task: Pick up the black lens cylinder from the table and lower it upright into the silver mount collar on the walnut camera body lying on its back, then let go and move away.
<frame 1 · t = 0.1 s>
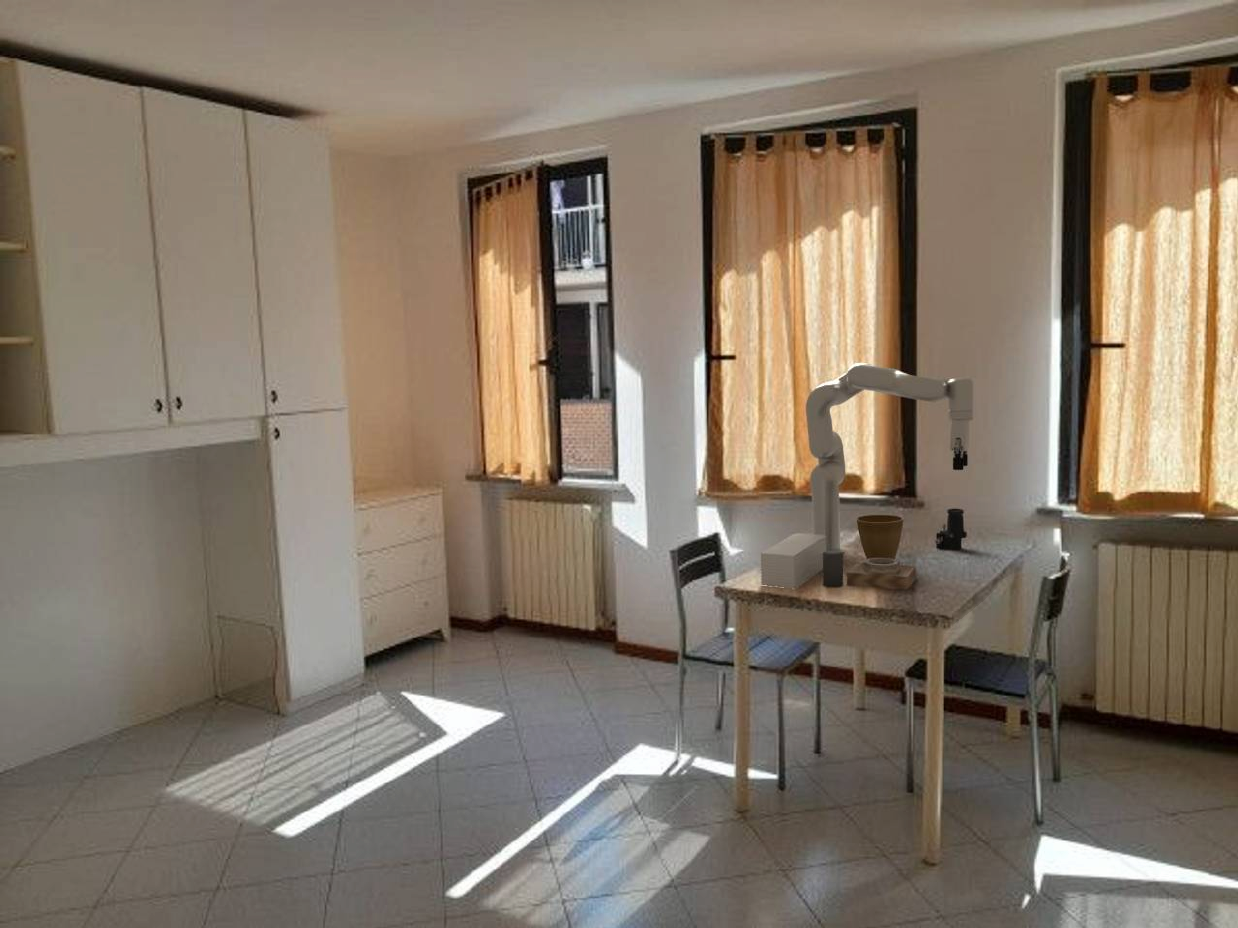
hand: (960, 467, 318), 31 cm above the table, tool pointing down, fingers open, 9 cm apart
scope: (952, 548, 340), on the table
camera body: (881, 581, 299), on the table
stack of papers: (795, 577, 311), on the table
plant pot: (880, 566, 320), on the table
lens: (833, 584, 298), on the table
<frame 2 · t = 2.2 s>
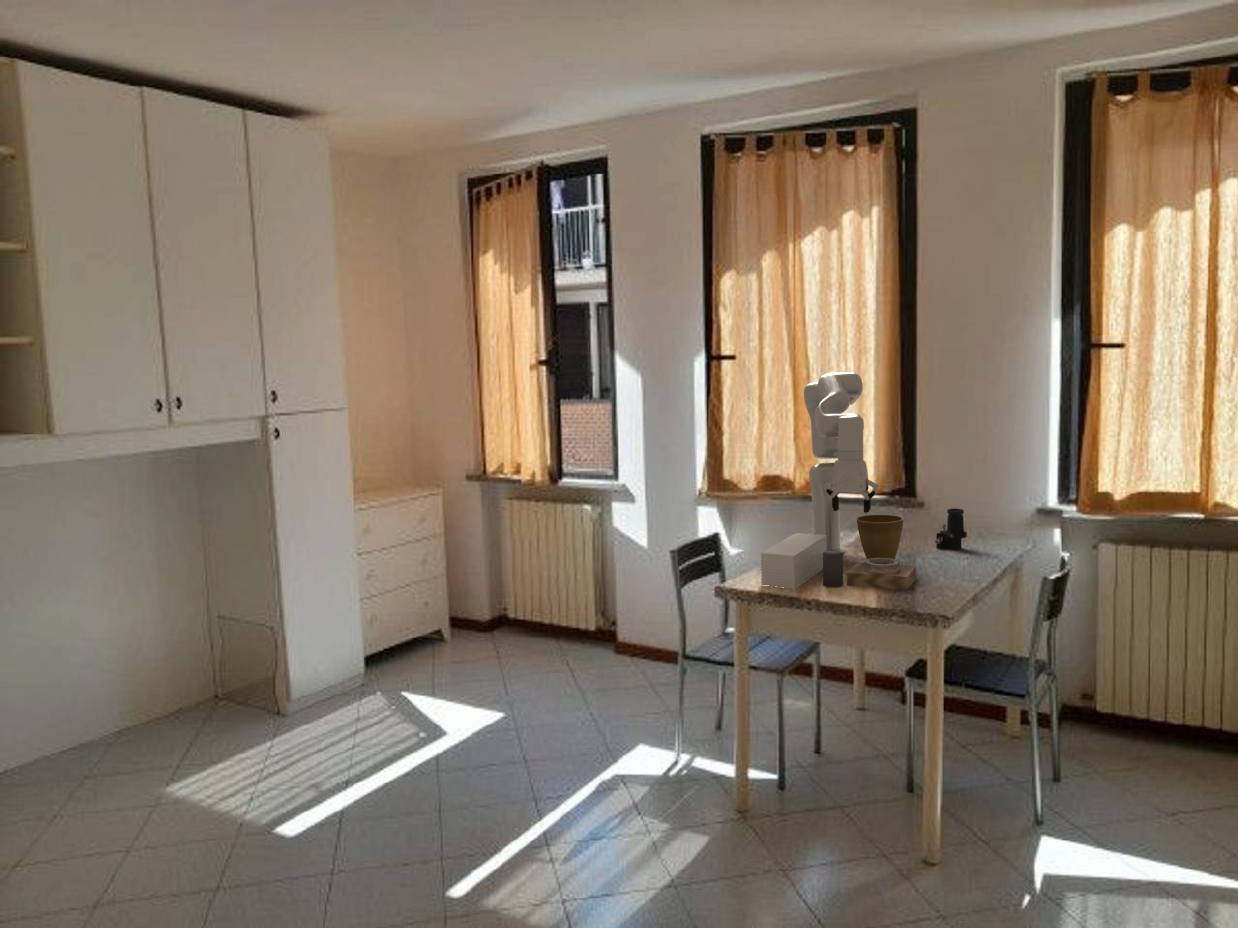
hand: (851, 511, 298), 22 cm above the table, tool pointing down, fingers open, 9 cm apart
nothing on the table moved.
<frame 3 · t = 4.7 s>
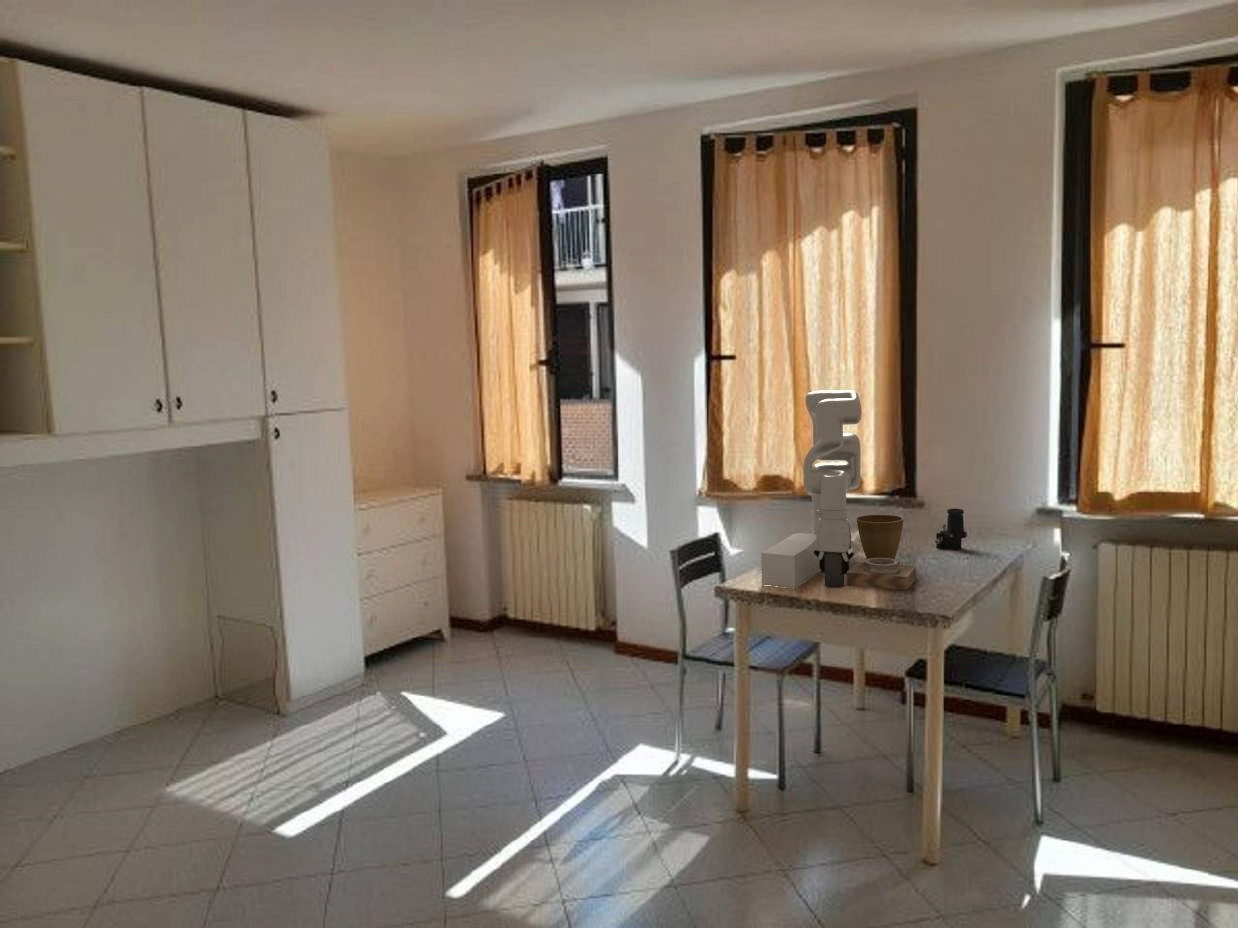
hand: (834, 571, 297), 4 cm above the table, tool pointing down, fingers closed on lens, 6 cm apart
lens: (834, 585, 297), on the table, touching gripper
everything else where it was.
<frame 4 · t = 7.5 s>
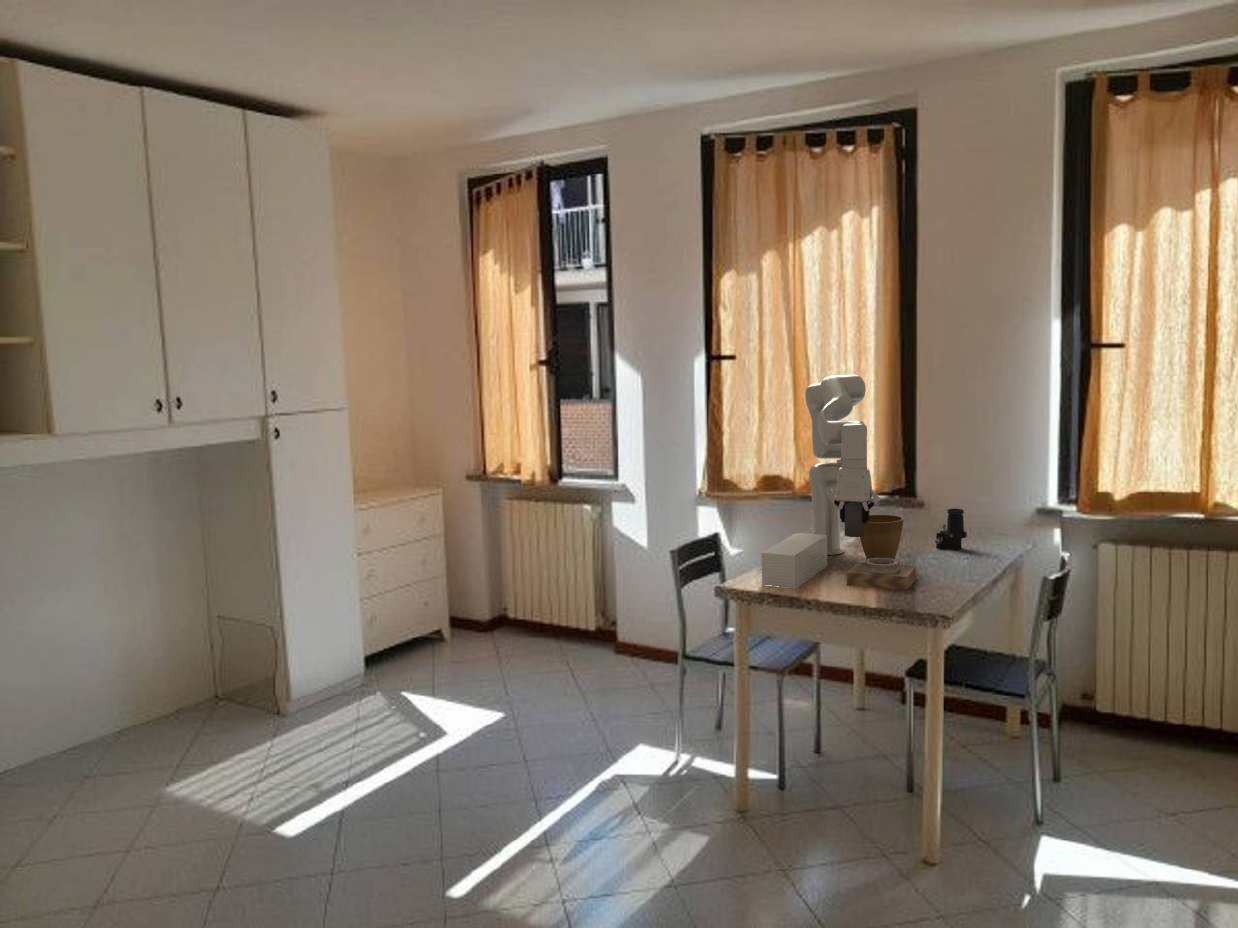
hand: (854, 521, 296), 19 cm above the table, tool pointing down, fingers closed on lens, 6 cm apart
lens: (854, 534, 297), point 15 cm above the table, touching gripper
everything else where it was.
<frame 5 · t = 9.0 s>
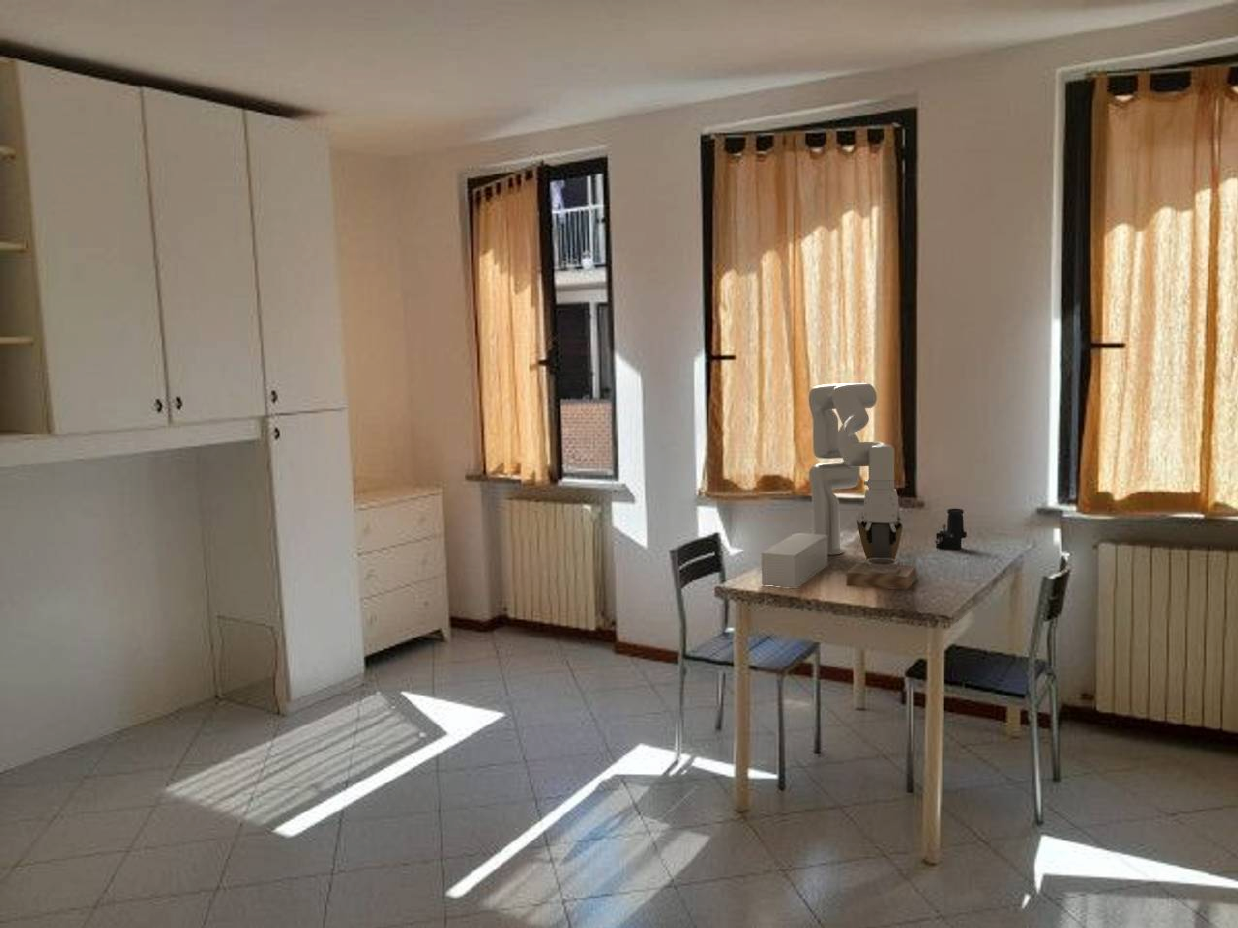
hand: (881, 542, 297), 12 cm above the table, tool pointing down, fingers closed on lens, 6 cm apart
lens: (881, 555, 298), point 8 cm above the table, touching gripper
everything else where it was.
when the fingers open (9 cm above the table, at t = 10.1 s): lens stays where it is, resting on camera body.
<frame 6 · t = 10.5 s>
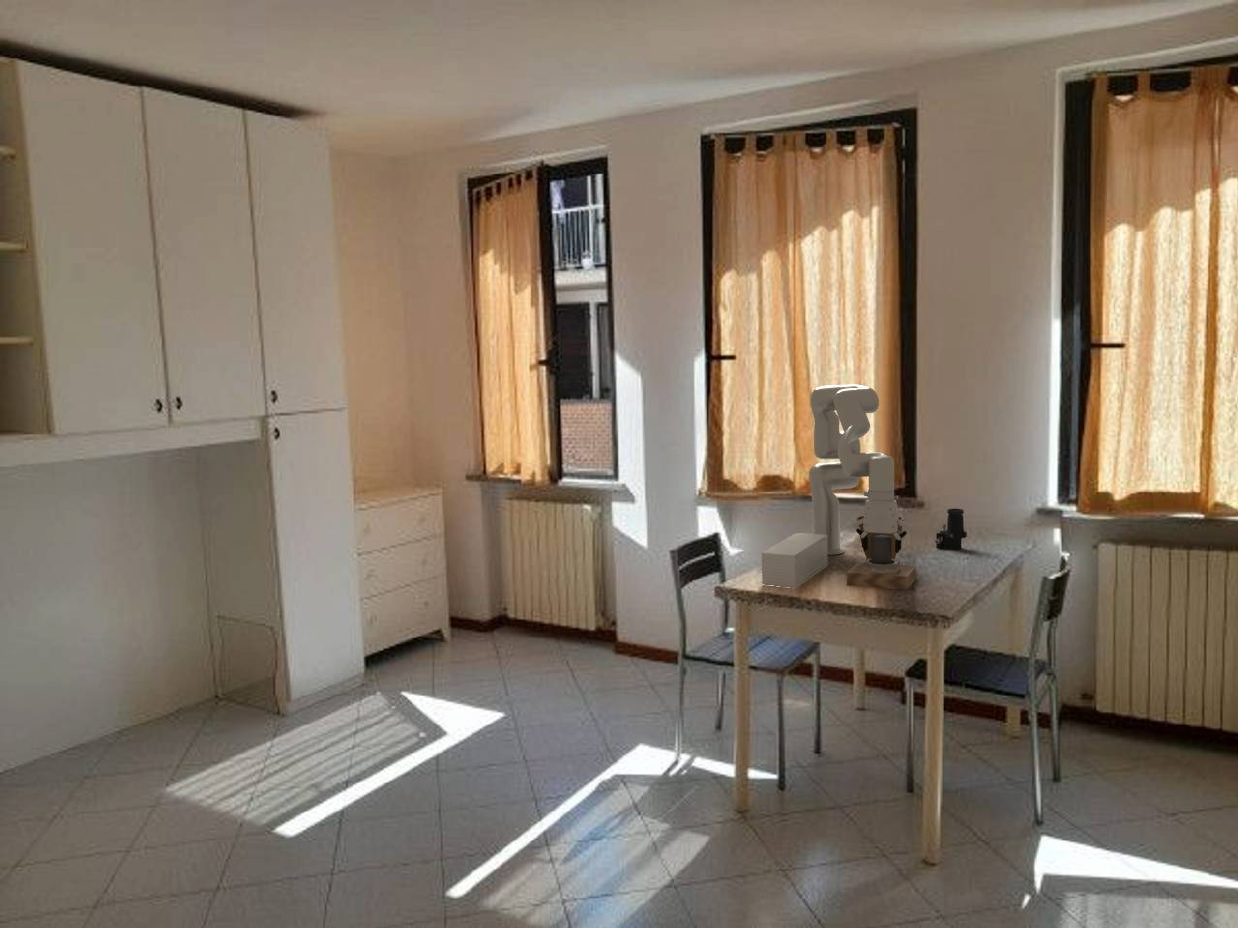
hand: (881, 550, 298), 10 cm above the table, tool pointing down, fingers open, 9 cm apart
lens: (881, 569, 299), point 4 cm above the table, touching camera body
everything else where it was.
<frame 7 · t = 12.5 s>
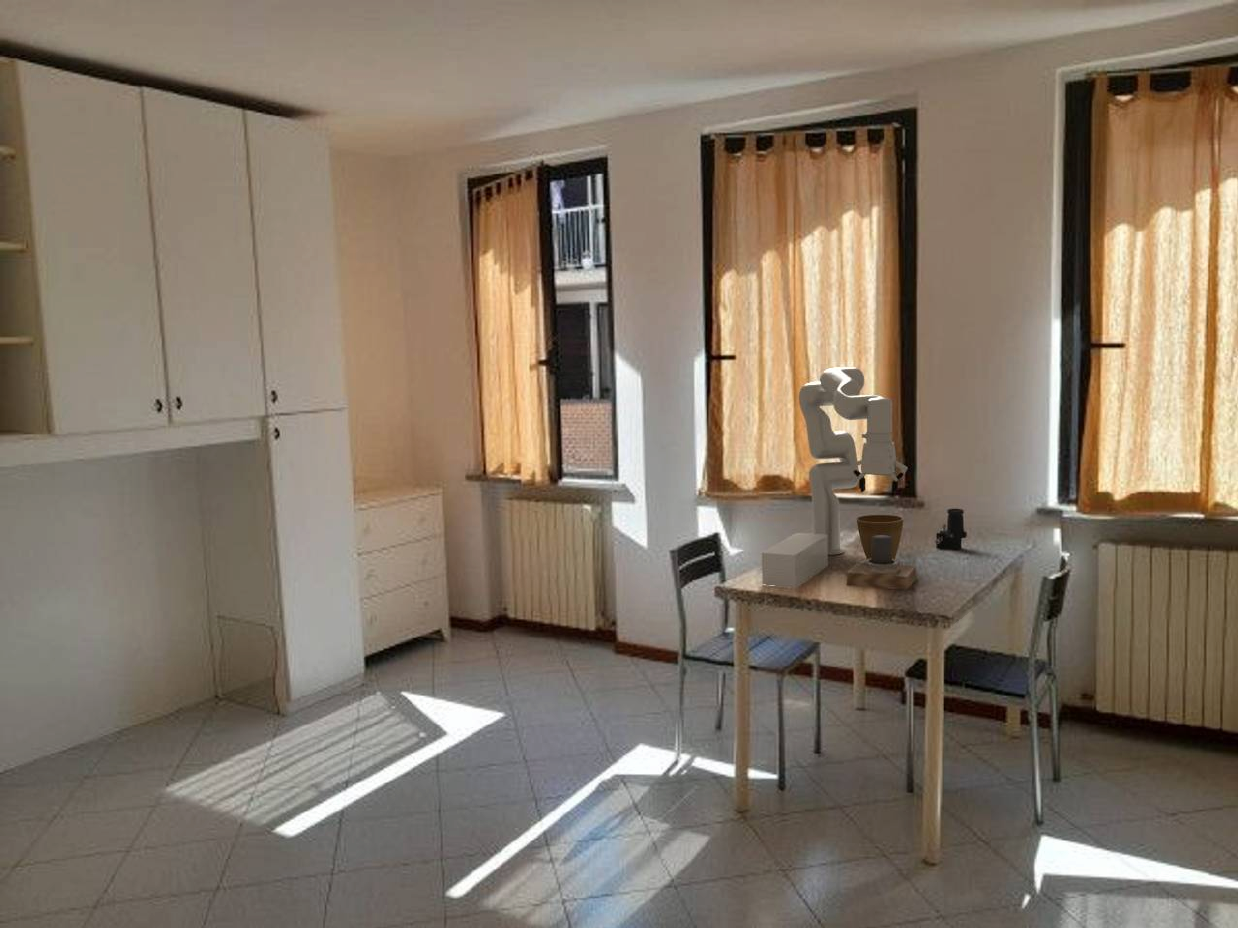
hand: (878, 492, 302), 27 cm above the table, tool pointing down, fingers open, 9 cm apart
nothing on the table moved.
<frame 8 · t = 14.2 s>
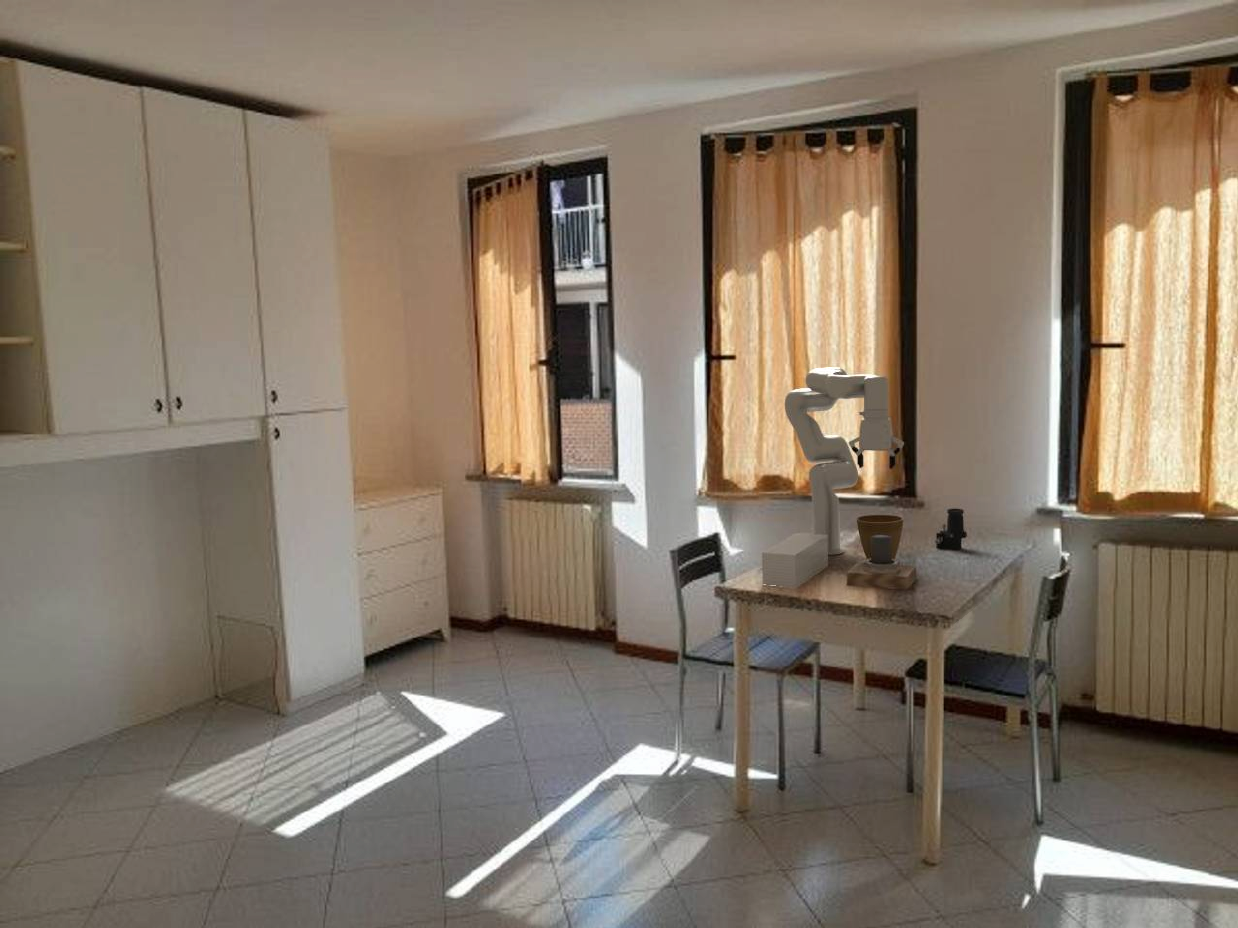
hand: (876, 467, 311), 33 cm above the table, tool pointing down, fingers open, 9 cm apart
nothing on the table moved.
at the end: lens 0.3 cm off-centre on the camera body, point 4.0 cm above the camera body's base; lens tilted 1°; the gripper is holding nothing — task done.
